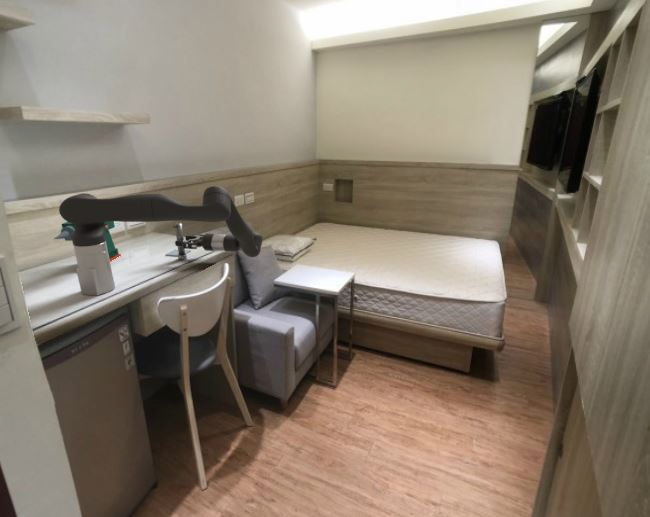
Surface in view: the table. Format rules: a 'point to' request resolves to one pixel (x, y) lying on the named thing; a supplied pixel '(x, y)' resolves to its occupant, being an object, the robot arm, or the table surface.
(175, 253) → the rest mat
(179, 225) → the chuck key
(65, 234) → the power tool
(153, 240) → the table surface
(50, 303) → the table surface
